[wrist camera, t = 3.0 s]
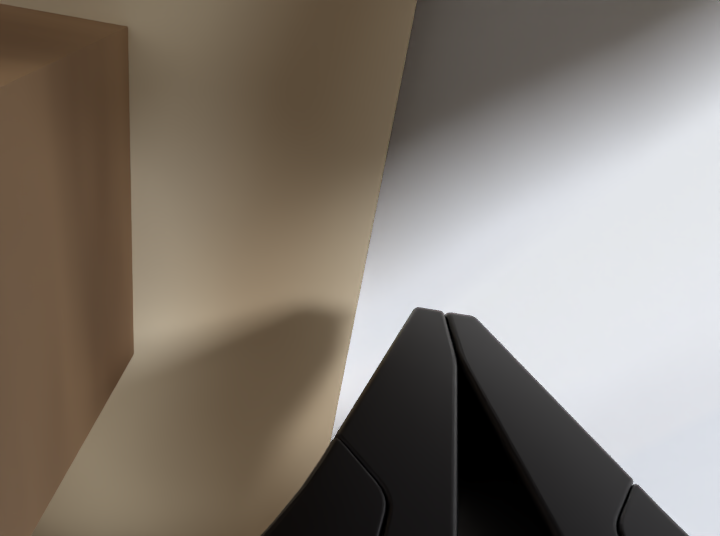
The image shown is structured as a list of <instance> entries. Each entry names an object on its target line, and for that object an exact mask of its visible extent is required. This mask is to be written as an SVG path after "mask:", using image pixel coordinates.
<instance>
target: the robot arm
mask: <svg viewBox="0 0 720 536" xmlns="http://www.w3.org/2000/svg"><path fill="white" fill-rule="evenodd" d="M260 536H689V535H688V534H687V533H686V532H685V531H684V530H683V529H681V528H680V527H679V526H678V525H677V524H676V523H675V522H674V521H673V520H672V519H671V518H670V517H669V516H668V515H667V514H666V513H665V512H664V511H663V510H662V509H661V508H660V507H659V506H658V505H657V504H656V503H655V502H654V501H653V499H652V498H651V497H650V496H649V495H648V494H647V493H646V492H645V491H644V490H643V489H642V488H641V487H640V486H639V485H637V484H634V485H633V479H632V478H631V477H630V476H629V475H628V474H627V473H626V472H625V471H624V470H623V469H622V468H621V467H620V466H619V465H618V464H617V463H616V462H615V461H614V460H613V459H612V458H611V457H610V455H609V454H608V453H607V452H606V451H605V450H604V449H603V448H602V447H601V446H600V445H599V444H598V443H597V442H596V441H595V440H594V439H593V438H592V437H591V436H590V435H589V434H588V433H587V432H586V431H585V430H584V429H583V428H582V427H581V426H580V425H579V424H578V423H577V421H576V420H575V419H574V418H573V417H572V416H571V415H570V414H569V413H568V412H567V411H566V410H565V409H564V408H563V407H562V406H561V405H560V404H559V403H558V402H557V401H556V400H555V399H554V398H553V397H552V396H551V395H550V394H549V393H548V392H547V391H546V390H545V388H544V387H543V386H542V385H541V384H540V383H539V382H538V381H537V380H536V379H535V378H534V377H533V376H532V375H531V374H530V373H529V372H528V371H527V370H526V369H525V368H524V367H523V366H522V365H521V364H520V363H519V362H518V361H517V360H516V359H515V358H514V357H513V356H512V354H511V353H510V352H509V351H508V350H507V349H506V348H505V347H504V346H503V345H502V344H501V343H500V342H499V341H498V340H497V339H496V338H495V337H494V336H493V335H492V334H491V333H490V332H489V331H488V330H487V329H486V328H485V327H484V326H483V325H482V324H481V323H480V322H479V320H478V319H476V318H475V317H473V316H470V315H463V314H457V313H446V314H445V315H444V313H443V312H442V311H439V310H433V309H426V308H420V307H417V308H415V309H414V310H413V311H412V313H411V314H410V316H409V318H408V319H407V321H406V322H405V324H404V326H403V327H402V329H401V330H400V332H399V334H398V335H397V337H396V339H395V340H394V342H393V343H392V345H391V347H390V348H389V350H388V351H387V353H386V355H385V356H384V358H383V360H382V361H381V363H380V364H379V366H378V368H377V369H376V371H375V372H374V374H373V376H372V377H371V379H370V380H369V382H368V384H367V385H366V387H365V389H364V390H363V392H362V393H361V395H360V397H359V398H358V400H357V401H356V403H355V405H354V406H353V408H352V410H351V411H350V413H349V414H348V416H347V418H346V419H345V421H344V422H343V424H342V426H341V427H340V429H339V430H338V432H337V434H336V435H335V438H334V439H333V440H332V441H331V443H330V444H329V446H328V447H327V449H326V451H325V452H324V454H323V455H322V457H321V459H320V460H319V462H318V463H317V465H316V466H315V467H314V469H313V470H312V472H311V473H310V475H309V476H308V478H307V479H306V481H305V482H304V483H303V485H302V486H301V488H300V489H299V490H298V491H297V493H296V494H295V495H294V496H293V498H292V499H291V500H290V501H289V502H288V504H287V505H286V506H285V507H284V509H283V510H282V511H281V512H280V513H279V515H278V516H277V517H276V518H275V520H274V521H273V522H272V523H271V524H270V525H269V526H268V527H267V529H266V530H265V531H264V532H263V533H262V534H261V535H260Z"/></svg>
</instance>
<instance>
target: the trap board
mask: <svg viewBox="0 0 720 536" xmlns="http://www.w3.org/2000/svg"><path fill="white" fill-rule="evenodd" d="M0 4H6V5H11V6H17V7H22V8H28V9H34V10H39V11H45V12H50V13H56V14H61V15H67V16H72V17H78V18H83V19H89V20H95V21H100V22H106V23H111V24H117V25H122V26H128V56H129V111H130V166H131V220H132V275H133V329H134V355H133V357H132V358H131V360H130V362H129V364H128V366H127V367H126V369H125V371H124V373H123V374H122V376H121V378H120V380H119V381H118V383H117V385H116V387H115V388H114V390H113V392H112V394H111V395H110V397H109V399H108V401H107V403H106V404H105V406H104V408H103V410H102V411H101V413H100V415H99V417H98V418H97V420H96V422H95V424H94V425H93V427H92V429H91V431H90V432H89V434H88V436H87V438H86V440H85V441H84V443H83V445H82V447H81V448H80V450H79V452H78V454H77V455H76V457H75V459H74V461H73V462H72V464H71V466H70V468H69V469H68V471H67V473H66V475H65V477H64V478H63V480H62V482H61V484H60V485H59V487H58V489H57V491H56V492H55V494H54V496H53V498H52V499H51V501H50V503H49V505H48V507H47V508H46V510H45V512H44V514H43V515H42V517H41V519H40V521H39V522H38V524H37V526H36V528H35V529H34V531H33V533H32V535H31V536H260V535H261V534H262V533H263V532H264V531H265V530H266V529H267V527H268V526H269V525H270V524H271V523H272V522H273V521H274V520H275V518H276V517H277V516H278V515H279V513H280V512H281V511H282V510H283V509H284V507H285V506H286V505H287V504H288V502H289V501H290V500H291V499H292V498H293V496H294V495H295V494H296V493H297V491H298V490H299V489H300V488H301V486H302V485H303V483H304V482H305V481H306V479H307V478H308V476H309V475H310V473H311V472H312V470H313V469H314V467H315V466H316V465H317V463H318V462H319V460H320V459H321V457H322V455H323V454H324V452H325V451H326V449H327V447H328V446H329V444H330V440H331V435H332V430H333V425H334V420H335V415H336V410H337V405H338V400H339V395H340V390H341V384H342V379H343V374H344V369H345V364H346V359H347V354H348V349H349V344H350V339H351V334H352V329H353V324H354V318H355V313H356V308H357V303H358V298H359V293H360V288H361V283H362V278H363V273H364V268H365V263H366V258H367V252H368V247H369V242H370V237H371V232H372V227H373V222H374V217H375V212H376V207H377V202H378V197H379V192H380V187H381V181H382V176H383V171H384V166H385V161H386V156H387V151H388V146H389V141H390V136H391V131H392V126H393V121H394V115H395V110H396V105H397V100H398V95H399V90H400V85H401V80H402V75H403V70H404V65H405V60H406V55H407V49H408V44H409V39H410V34H411V29H412V24H413V19H414V14H415V9H416V4H417V0H0Z"/></svg>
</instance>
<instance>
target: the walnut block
mask: <svg viewBox="0 0 720 536" xmlns="http://www.w3.org/2000/svg"><path fill="white" fill-rule="evenodd" d="M133 355H134V329H133V275H132V220H131V166H130V111H129V56H128V26H122V25H117V24H111V23H106V22H100V21H95V20H89V19H83V18H78V17H72V16H67V15H61V14H56V13H50V12H45V11H39V10H34V9H28V8H22V7H17V6H11V5H6V4H0V536H31V535H32V533H33V531H34V529H35V528H36V526H37V524H38V522H39V521H40V519H41V517H42V515H43V514H44V512H45V510H46V508H47V507H48V505H49V503H50V501H51V499H52V498H53V496H54V494H55V492H56V491H57V489H58V487H59V485H60V484H61V482H62V480H63V478H64V477H65V475H66V473H67V471H68V469H69V468H70V466H71V464H72V462H73V461H74V459H75V457H76V455H77V454H78V452H79V450H80V448H81V447H82V445H83V443H84V441H85V440H86V438H87V436H88V434H89V432H90V431H91V429H92V427H93V425H94V424H95V422H96V420H97V418H98V417H99V415H100V413H101V411H102V410H103V408H104V406H105V404H106V403H107V401H108V399H109V397H110V395H111V394H112V392H113V390H114V388H115V387H116V385H117V383H118V381H119V380H120V378H121V376H122V374H123V373H124V371H125V369H126V367H127V366H128V364H129V362H130V360H131V358H132V357H133Z"/></svg>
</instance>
